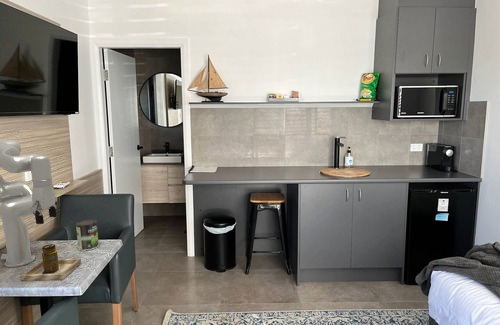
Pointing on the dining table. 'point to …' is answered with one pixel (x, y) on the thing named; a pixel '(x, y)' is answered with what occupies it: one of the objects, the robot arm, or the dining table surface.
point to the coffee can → (87, 235)
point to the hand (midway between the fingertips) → (46, 220)
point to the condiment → (50, 260)
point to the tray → (36, 274)
